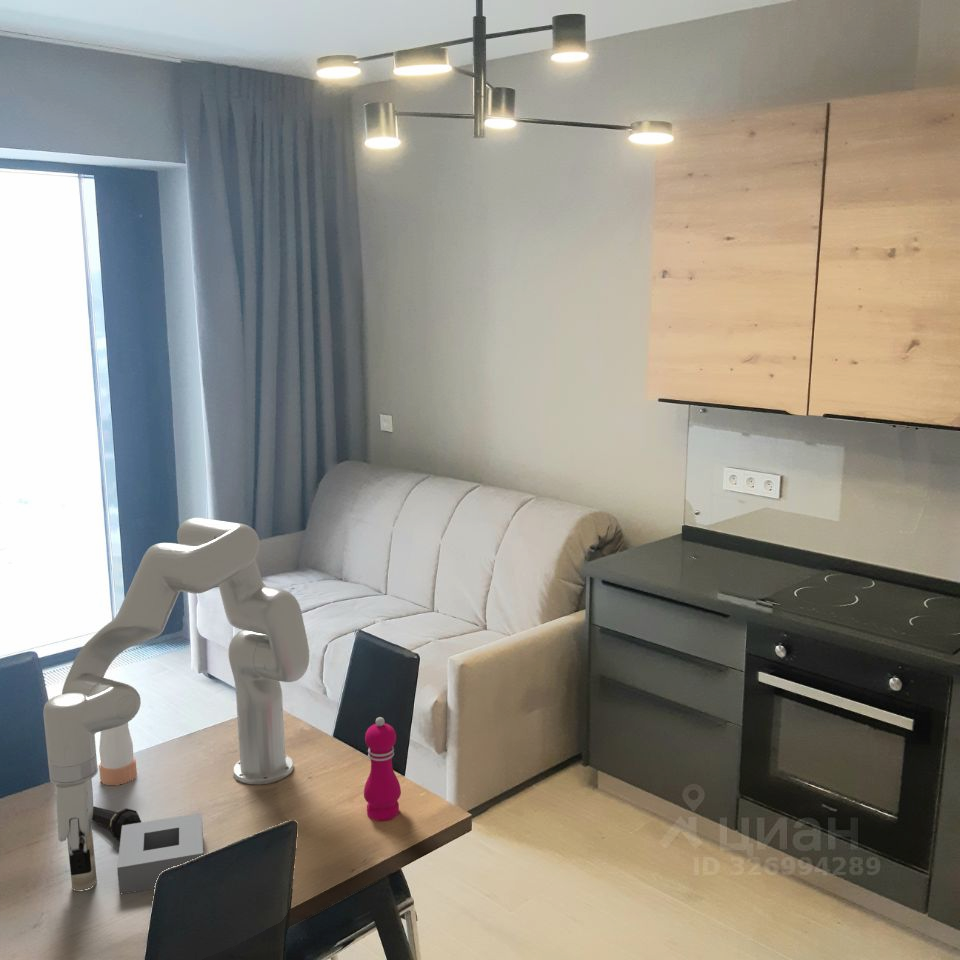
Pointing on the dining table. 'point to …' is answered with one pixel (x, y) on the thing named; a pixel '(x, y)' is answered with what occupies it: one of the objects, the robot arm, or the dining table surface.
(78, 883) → the peg
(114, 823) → the microphone
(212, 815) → the dining table surface
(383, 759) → the pepper mill
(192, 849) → the socket block
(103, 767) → the salt shaker
